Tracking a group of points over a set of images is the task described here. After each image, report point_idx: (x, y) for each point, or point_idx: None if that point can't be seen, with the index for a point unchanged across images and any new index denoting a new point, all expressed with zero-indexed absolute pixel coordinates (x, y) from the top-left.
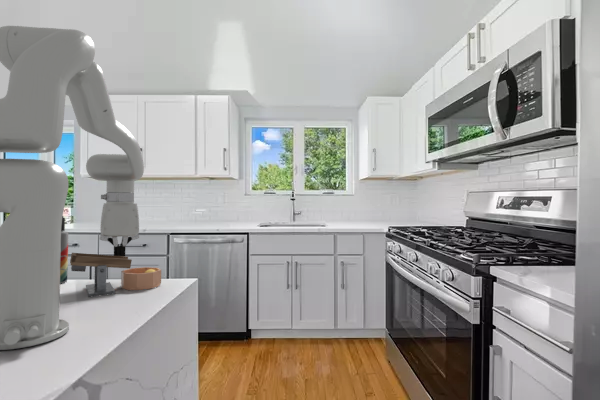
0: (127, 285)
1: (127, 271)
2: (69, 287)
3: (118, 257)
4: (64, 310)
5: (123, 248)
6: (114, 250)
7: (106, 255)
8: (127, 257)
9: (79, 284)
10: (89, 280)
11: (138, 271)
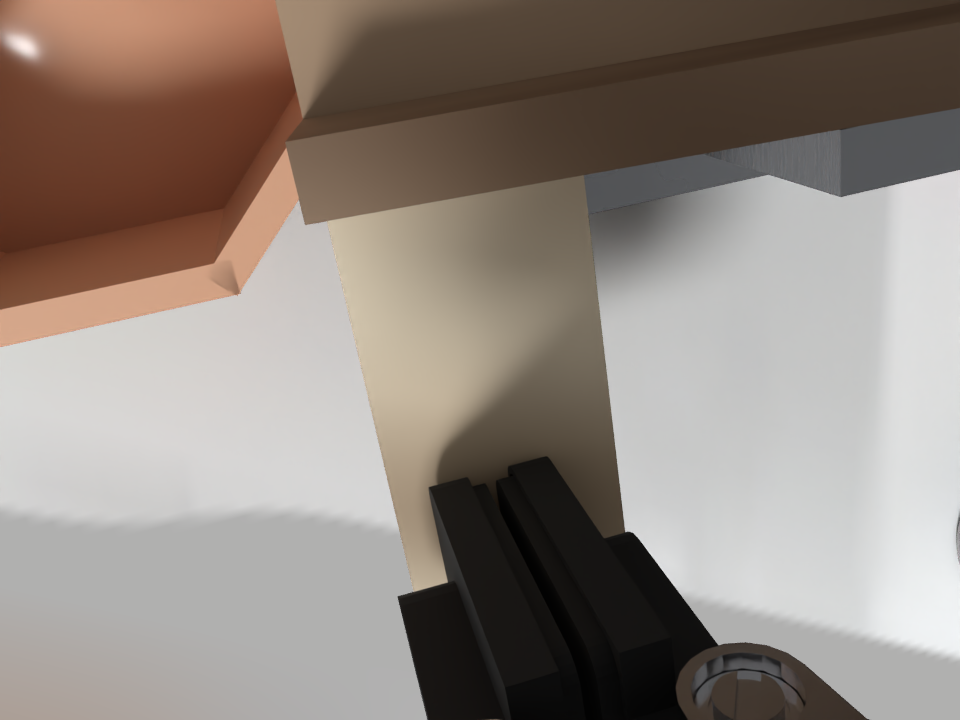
0: None
1: (288, 133)
2: (950, 243)
3: (546, 92)
4: None
5: (481, 701)
6: (690, 611)
7: (880, 40)
8: (305, 133)
9: (851, 380)
10: (751, 572)
11: (91, 271)
